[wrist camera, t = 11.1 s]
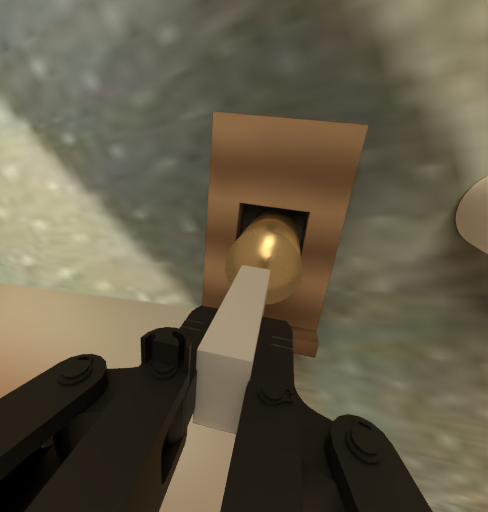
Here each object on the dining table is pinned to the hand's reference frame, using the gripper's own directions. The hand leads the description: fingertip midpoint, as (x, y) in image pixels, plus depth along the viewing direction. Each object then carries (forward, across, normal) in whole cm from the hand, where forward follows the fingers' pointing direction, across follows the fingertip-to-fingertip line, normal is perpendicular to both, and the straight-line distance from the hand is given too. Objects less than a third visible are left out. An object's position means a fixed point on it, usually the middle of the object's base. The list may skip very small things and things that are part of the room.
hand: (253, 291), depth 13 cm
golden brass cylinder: (+13, 0, 0) cm, 13 cm away
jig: (+13, 0, 0) cm, 13 cm away
